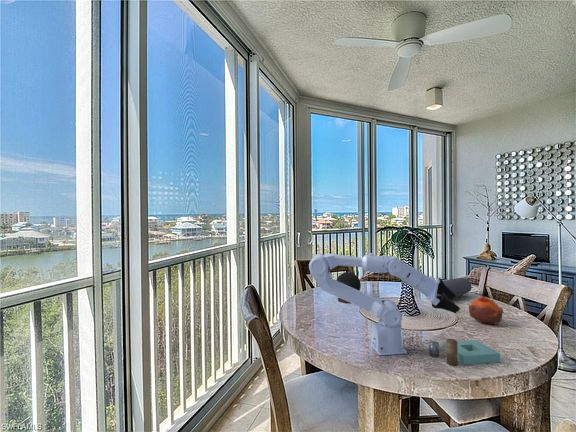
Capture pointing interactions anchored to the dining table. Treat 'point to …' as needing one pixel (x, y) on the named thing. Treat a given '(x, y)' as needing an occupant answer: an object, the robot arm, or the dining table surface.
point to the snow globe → (349, 282)
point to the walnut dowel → (451, 352)
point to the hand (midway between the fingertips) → (455, 303)
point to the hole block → (475, 352)
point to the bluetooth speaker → (458, 286)
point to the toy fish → (485, 310)
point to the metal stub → (434, 349)
